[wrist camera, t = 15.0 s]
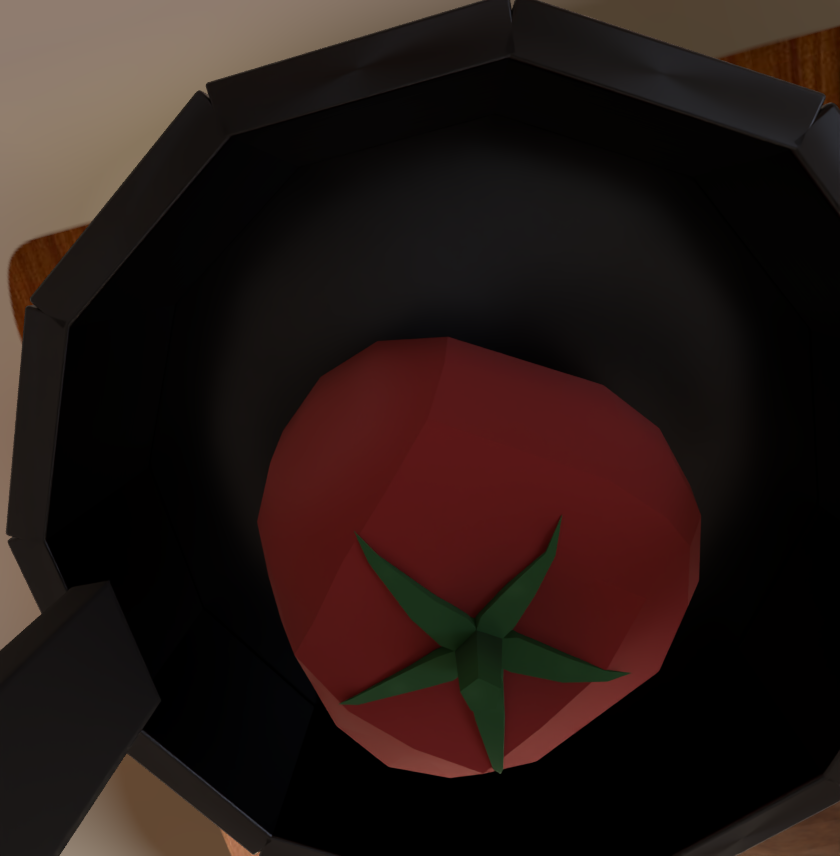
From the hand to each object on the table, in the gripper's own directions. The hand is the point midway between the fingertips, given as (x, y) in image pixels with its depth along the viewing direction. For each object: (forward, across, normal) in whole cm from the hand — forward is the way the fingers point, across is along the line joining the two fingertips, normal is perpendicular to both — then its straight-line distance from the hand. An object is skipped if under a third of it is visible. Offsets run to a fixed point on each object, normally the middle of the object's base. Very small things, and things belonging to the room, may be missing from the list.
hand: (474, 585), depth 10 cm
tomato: (+5, 0, 0) cm, 5 cm away
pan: (+33, +6, 0) cm, 34 cm away
